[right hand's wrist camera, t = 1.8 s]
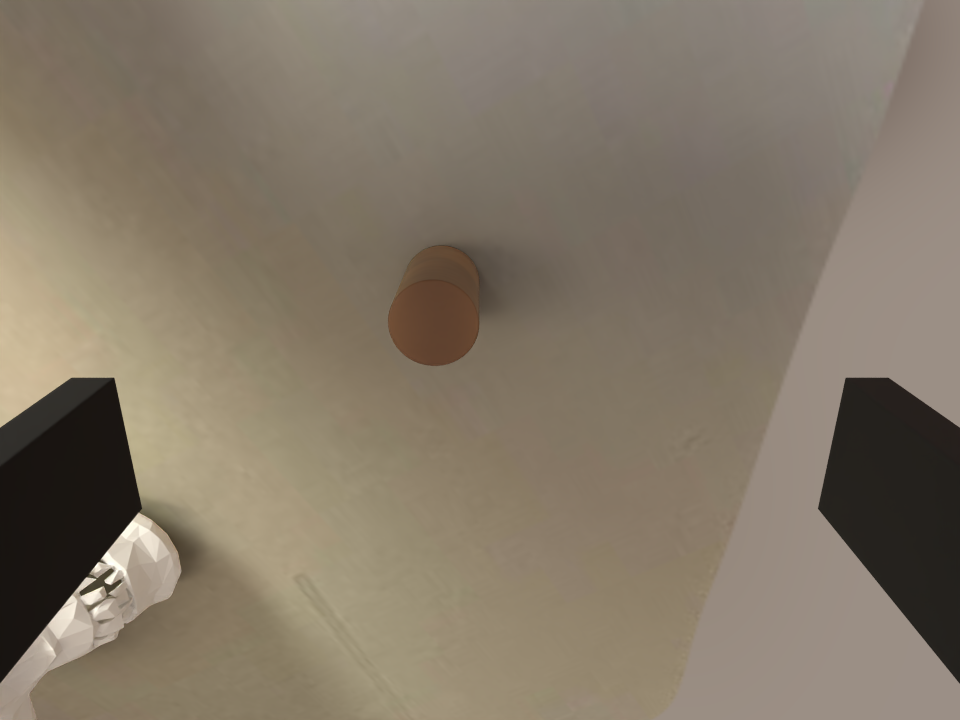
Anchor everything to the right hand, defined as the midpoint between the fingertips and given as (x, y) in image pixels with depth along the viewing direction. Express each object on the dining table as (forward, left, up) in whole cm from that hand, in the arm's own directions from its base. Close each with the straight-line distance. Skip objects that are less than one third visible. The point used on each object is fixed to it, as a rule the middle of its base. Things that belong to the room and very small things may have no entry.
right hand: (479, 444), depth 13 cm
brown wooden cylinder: (-2, -2, -19) cm, 19 cm away
